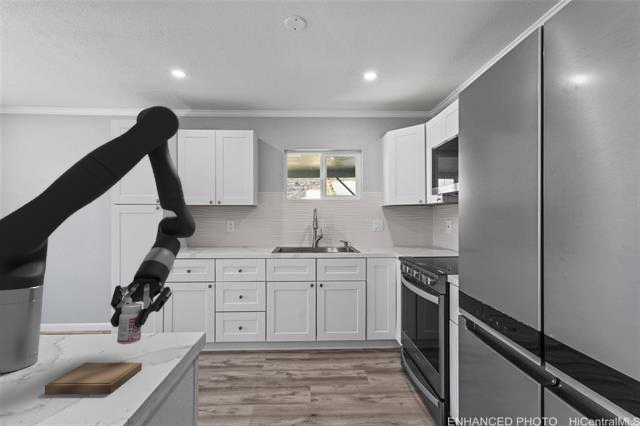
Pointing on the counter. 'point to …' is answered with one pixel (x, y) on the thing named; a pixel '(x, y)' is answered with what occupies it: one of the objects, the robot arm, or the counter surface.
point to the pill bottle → (129, 324)
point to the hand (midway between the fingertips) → (125, 325)
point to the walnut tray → (94, 378)
